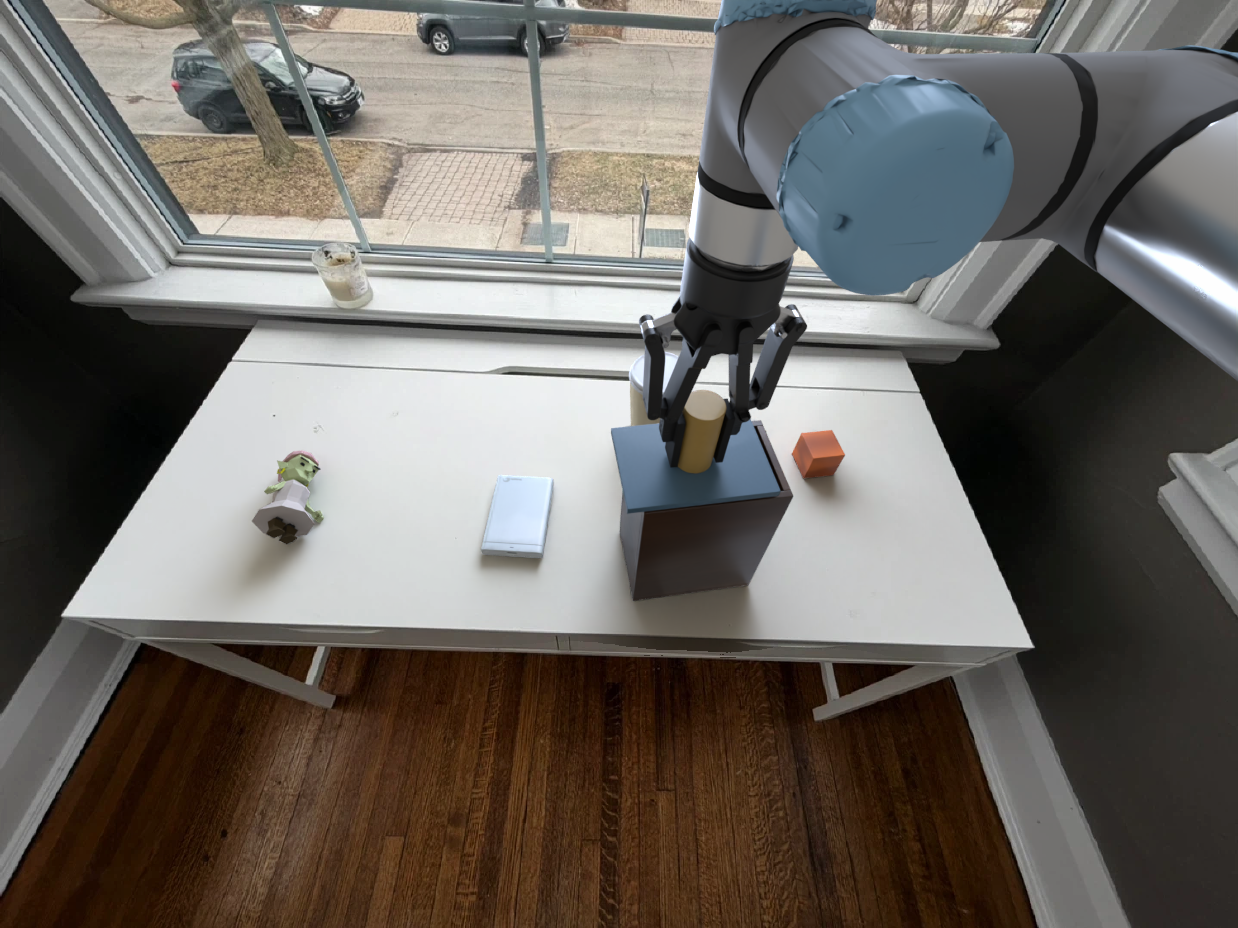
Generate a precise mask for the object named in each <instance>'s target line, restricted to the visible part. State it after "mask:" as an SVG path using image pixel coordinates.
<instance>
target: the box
mask: <svg viewBox="0 0 1238 928" xmlns="http://www.w3.org/2000/svg"><path fill="white" fill-rule="evenodd" d="M751 421H752V423H753V426H754V428H755V431H756V433H757V435H758V438H759V440H760V443H761V445H762V447H763V450H764V452H765V455H766V457H767V459H768V462H769V464H770V467H771V469H772V472H773V474H774V476H775V479H776V481H777V484H778V486H779V488H780V491H781V492H780V494H779V496H773V497H765V498H756V499H748V500H739V501H731V502H722V503H714V504H705V505H697V506H688V507H680V508H671V509H663V510H654V511H646V512H637V513H629V514H627V510H626V505H625V500H624V495H623V490H621V501H620V515H619V517H620V518H619V537H620V540H621V546H622V553H623V558H624V562H625V568H626V573H627V579H628V584H629V590H630V595H631V600H632V601H631V602H638V601H639V602H640V601H646V600H652V599H653V600H654V599H660V598H668V597H676V596H683V595H689V594H696V593H697V594H698V593H703V592H711V591H716V590H717V591H718V590H725V589H726V590H727V589H733V588H739V587H745V586H746V587H747V586H749V585H750V583H751V581H752V579H753V577H754V575H755V574H756V571H757V570H758V568H759V565H760V564H761V562H762V559H763V557H764V556H765V554H766V551H768V548H769V546H770V544H771V542H772V540H773V539H774V536H775V534H776V532H777V531H778V528H779V526H780V524H781V522H782V521H783V518H784V516H785V514H786V512H787V510H788V508H789V506H790V504H791V502H792V500H793V498H794V494H793V491H792V490H791V487H790V484H789V482H788V479H787V478H786V475H785V473H784V470H783V468H782V466H781V464H780V461H779V459H778V456H777V454H776V452H775V450H774V446H773V445H772V442H771V440H770V438H769V435H768V434H767V431H766V429H765V426H764V424H763V421H762V420H761V419H759V420H751Z"/></svg>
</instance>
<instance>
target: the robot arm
mask: <svg viewBox="0 0 1238 928" xmlns="http://www.w3.org/2000/svg"><path fill="white" fill-rule="evenodd" d="M877 1H878V0H721V2H720V7H719V12H718V17H717V20H716V21H715V22H714V26H713V34H714V36H715V40H714V47H713V54H712V61H711V62H712V63H711V67H710V68H711V69H710V75H709V77H710V78H709V84H708V91H707V99H706V100H707V101H706V106H705V113H704V120H703V121H704V122H703V129H702V136H701V143H700V150H699V158H698V166H697V173H696V179H695V187H694V194H693V200H692V207H691V214H690V220H689V221H690V222H689V227H688V233H689V237H688V239H687V242H686V247H685V253H684V260H683V268H682V274H681V282H680V290H679V295H678V298H677V299H676V301H675V302H674V303H673V305H672V307H671V310H670V312H669V313H666V314H664V315H660V316H659V317H656V318H654V317H653V315H651V314H643V315H641V316H640V317H639V319H638V325H639V329H640V332H641V335H642V339H643V342H644V354H645V357H644V378H643V401H644V406H645V409H646V413H647V417H648V419H649V420H657V419H658V418H660V423H659V431H660V435H661V439H662V441H663V442H666V443H665V450H666V453H667V457H668V461H669V464H670V468H672V467H678V462H679V457H680V452H681V447H682V442H683V437H684V432H685V427H686V422H685V419H684V415H683V412H682V411H683V409H684V407H685V405H686V403H687V400H688V398H689V396H690V394H691V392H693V391H694V387H695V385H696V384H697V381H698V379H699V377H700V374H701V373H702V370H705V369H706V368H707V367H708V364H709V362H710V360H711V358H712V357H714V356H718V355H722V354H723V355H728V397H729V398H723V399H724V401H725V403H726V412H725V416H724V420H723V423H722V427H721V431H720V434H719V438H718V442H717V445H716V449H715V453H714V459H715V462H716V463H720V462H723V460H724V456H725V453H726V450H727V446H728V443H729V440H730V436H731V435H737V434H738V432H739V431H740V428H741V425H742V423H744V422H747V421H749V420H750V419H751V420H752V415H751V413H750V410H753V409H756V410H758V411H763V410H765V409H767V408H768V407H769V406H770V404H771V401H772V398H773V397H774V393H775V392H776V388H777V386H778V383H779V381H780V379H781V376H782V374H783V371H784V369H785V366H786V364H787V361H788V359H789V356H790V354H791V352H792V349H793V347H794V345H795V344H796V343H797V342H798V341H799V339H800V338H801V337H802V336H803V334H804V333H805V332H806V331H807V329H808V324H807V322H806V321H805V319H804V317H803V316H802V314H801V312H800V310H799V309H798V307H797V305H796V304H793V303H790V304H788V305H786V306H780V302H781V301H782V298H783V296H784V293H785V290H786V289H785V288H786V286H787V284H788V280H789V277H790V273H791V270H792V267H793V264H794V258H795V257H794V254H795V253H797V251H798V249H799V250H800V251H802V252H806V253H807V255H808V256H809V257H810V259H812V261H814V263H815V264H816V265H817V266H818V268H819V269H820V270H821V271H822V272H823V274H824V275H825V276H826V277H827V278H828V279H829V280H830V281H831V282H832V283H833V284H835V285H836V286H838V287H839V288H841V289H843V290H845V291H848V292H851V293H854V294H858V295H863V296H873V297H874V296H876V297H877V296H879V297H881V296H888V295H894V294H900V293H903V292H906V291H908V290H909V289H910V288H911V286H912V285H913V284H914V283H916V282H919V281H922V280H923V279H935V278H937V277H939V276H940V275H943V274H944V273H946V272H948V270H950V269H951V268H953V267H954V266H956V264H958V263H960V261H961V260H962V259H964V258H965V257H966V256H967V255H968V254H970V253H971V251H972V250H974V249H975V248H976V246H977V245H978V244H979V243H988V242H989V243H990V242H991V243H992V242H1003V241H1005V242H1006V241H1022V240H1039V239H1041V240H1046V241H1049V242H1053V243H1055V244H1058V245H1060V246H1061V247H1062V248H1063V249H1065V250H1066V251H1067V252H1068V253H1070V254H1071V255H1072V256H1073V257H1075V258H1076V259H1077V260H1079V261H1080V262H1082V263H1083V264H1084V265H1086V266H1088V267H1089V268H1090V269H1091V270H1093V271H1094V272H1096V273H1097V274H1098V275H1100V276H1101V277H1103V278H1104V279H1106V280H1107V281H1109V282H1110V283H1111V284H1112V285H1114V286H1115V287H1116V288H1117V289H1119V290H1120V291H1121V292H1122V293H1124V294H1125V295H1126V296H1128V297H1129V298H1131V300H1133V301H1134V302H1136V303H1137V304H1138V305H1140V306H1141V307H1142V308H1143V309H1144V310H1146V311H1147V312H1149V314H1151V315H1152V316H1153V317H1155V318H1156V319H1157V320H1159V321H1160V322H1161V323H1163V325H1165V326H1166V327H1168V328H1169V329H1170V330H1171V331H1173V332H1174V333H1175V334H1176V335H1178V336H1179V337H1180V338H1182V340H1184V341H1186V342H1187V343H1188V344H1189V345H1191V346H1192V347H1193V348H1194V349H1196V350H1197V351H1198V352H1200V353H1201V354H1202V355H1203V356H1204V357H1206V358H1207V359H1209V360H1210V361H1211V362H1212V363H1213V364H1215V365H1216V366H1217V367H1218V368H1220V369H1221V370H1223V371H1224V372H1225V373H1226V374H1227V375H1229V376H1230V377H1231V378H1233V379H1234V380H1236V382H1238V52H1232V51H1228V50H1224V49H1218V48H1212V47H1207V46H1203V45H1191V44H1190V45H1181V46H1177V47H1173V48H1160V49H1155V50H1123V51H1122V50H1120V51H1119V50H1118V51H1117V50H1116V51H1115V50H1114V51H1087V52H1086V51H1085V52H1084V51H1082V52H1026V53H1025V52H1010V53H1009V52H1008V53H1007V52H996V53H995V52H993V53H992V52H990V53H986V52H985V53H984V52H982V53H981V52H980V53H978V52H977V53H969V52H968V53H912V52H908V51H903V50H900V49H898V48H896V47H894V46H892V45H891V44H888V43H887V42H885V41H884V40H882V39H881V38H879V37H878V36H877V35H876V34H874V33H873V32H872V31H871V29H870V28H869V27H870V25H871V22H872V21H874V19H875V16H876V13H877ZM676 330H677V331H678V332H679V334H680V335H681V337H682V345H681V350H680V352H679V355H678V356H679V357H678V360H677V362H676V365H675V367H674V370H673V372H672V375H671V377H670V379H669V382H668V384H667V387H666V389H665V392H664V394H663V395H662V393H663V382H664V371H665V352H666V351H665V349H667V348H668V347H669V346H670V344H669V343H670V342H671V340H672V333H673V332H674V331H676ZM766 331H767V334H766V337H765V340H764V343H763V346H762V349H761V351H760V354H759V357H758V360H757V362H756V366H755V369H754V371H753V375H752V377H751V364H753V361H754V360H753V358H754V342H755V341H757V340H758V339H759V338H760V337H761V336H762V335H764V334H765V332H766Z"/></svg>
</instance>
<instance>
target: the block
mask: <svg viewBox="0 0 1238 928" xmlns="http://www.w3.org/2000/svg"><path fill="white" fill-rule="evenodd" d="M791 455H792V457H793V459H794V461H795V463H796V466H797V468H798V470H799V472H800V475H801V477H802V479H804V480H805V479H812V478H813V479H814V478H821V477H822V478H823V477H830V476H834V475H835V474H836V472H837V471H838V469H839V467H840V465H841V464H842V462H843V460H844V458H845V457H846V454H845V451H844V450H843V448H842V446H841V444H840V442H839V440H838V439H837V436H836V434H835V433H834V430H833V429H828V430H818V431H809V432H801V433H800V435H799V437H798V440H797V442H796V444H795V446H794V448H793V450H792V453H791Z"/></svg>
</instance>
